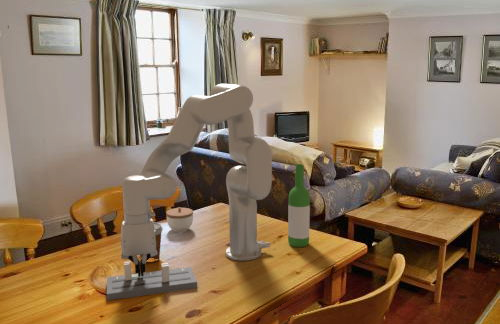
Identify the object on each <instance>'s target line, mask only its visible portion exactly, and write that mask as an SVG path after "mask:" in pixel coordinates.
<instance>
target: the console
mask: <svg viewBox="0 0 500 324" xmlns="http://www.w3.org/2000/svg"><path fill="white" fill-rule="evenodd" d="M143 274H144V276H140V277H138V273H132V280H126V281H125V274H124V275H116V276H107V277H106V300H107V301H112V300H113V301H114V300H120V299H127V298H134V297H141V296H148V295H149V296H151V295H156V294H162V293H170V292H178V291H184V290H192V289H198V281H197V278H196V276H195V272H194V270H193V268H192V266H187V267H179V268H171V269H170V268H169V282H163V281H162V271H161V270H156V271H155V270H153V271H147V272H143Z"/></svg>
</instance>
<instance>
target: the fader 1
mask: <svg viewBox="0 0 500 324" xmlns="http://www.w3.org/2000/svg"><path fill="white" fill-rule="evenodd" d="M123 266H124V267H123V270H124V271H123V272H124V275H125V281H126V280H132V274H133V273H132V272H133V271H132V261H130V260H127V261H123Z"/></svg>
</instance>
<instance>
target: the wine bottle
mask: <svg viewBox="0 0 500 324" xmlns="http://www.w3.org/2000/svg"><path fill="white" fill-rule="evenodd" d="M304 167H305V165H304V164H295V174H294V175H295V177H294V179H295V180H294V182H295V183H294V187H293V188H292V189H290V191H289V194H288V210H287V211H288V222H287V240H288V244H289V245H290V246H292V247H295V248H303V247H306V246H308V245H309V242H310V221H311V219H310V217H311V216H310V215H311V205H310V203H311V196H310V192H309V191H308V189H307V188H306V187H305V186H304V185H305V183H304V180H305V179H304V177H305V175H304V174H305V170H304V169H305V168H304Z"/></svg>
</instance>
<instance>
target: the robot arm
mask: <svg viewBox="0 0 500 324" xmlns="http://www.w3.org/2000/svg"><path fill="white" fill-rule="evenodd" d="M209 94H210V95H199V94H196V95H194V94H193V95H191V96H189V97H188V98H186V100H185V101H184V103H183V105H182V107H181V109H180V111H179V113H178V114H177V117H176V119H175V121H174V123H173V125H172V127H171V128H170V131H169V133H168V134H167V136H166V138H164V140H162V141H161V142H160V143H159V145H158V146H157V147H156V148H155V149H154V150H152V152H151V154H149V156H148V158H147V160H146V161H145V163H144V166H143V168H142V169H141V173H140V175H138V174H137V175H129V176H126V177H124V178H123V179H122V181H121V187H122V201H123V202H122V203H123V204H122V205H123V217H124V220H123V221H122V223H121V225H120V227H121V228H120V244H121V245H120V246H121V254H120V256H121V257H120V258H121V259H122V260H128V261H131V263H133V264H134V267H135V268H134V270H135V274H138V277H140V276H144V274H143V273H146V271H147V270H146V264H147V263H146V261H147V260H148V259H149V258H150V257H152V256H155V255H157V254H158V253H157V249H156V236H155V228H154V223H153V222H154V220H153V217H156V213H155V211H151V206H150V203H151V202H150V200H167V199H169V198H171V197H173V196H174V195H175V193H176V192H177V189H178V185H177V182H176V180H175V179H174V177H172V175H169V174H167V173H166V171H167V170H168V168H169V166H171V163H172V162H173V161H174V160H176V159H177V158H179V157H180V156H182V155H184V154H187V153H188V152H190V151H192V150H193V149H194V147H195V144H196V143H197V141H198V139H199V137H200V134H201V133H202V130H203V128H204V127H205V125H206V126H213V125H217V124H220V123H223V122H225V121H227V127H228V152H229V157H230V158H231V160H233V161H234V162H237V163H239V164H242V165H236V166H233V167H231V168H230V169H229V170H228V172H227V173H226V178H225V185H226V190H227V194H228V207H229V208H228V210H229V211H228V215H229V216H228V218H229V223H228V224H229V246H228V247H227V248H226V249H225V256H226V257H227V258H228V259H231V260H232V261H240V262H244V261H246V262H247V261H252V260H255V259H258V258H260V256H261V255H262V249H263V248H264V249H265V248H267V249H268V248H271V242H270V241H268V242H267V241H266V242H265V240H259V241H258V226H257V224H258V222H257V221H258V219H257V218H258V217H257V216H258V213H257V212H258V210H257V209H258V205H257V201H261V200H264V199H265V198H266V197H268V196H269V194H270V192H271V190H272V185H273V184H272V183H273V168H272V167H273V163H272V162H273V161H272V160H273V158H272V150H271V147H270V145H269V143H268V142H267V141H266V140H264V139H263V138H260V137H256V136H255V128H254V127H255V126H254V117H253V114H252V111H251V109H250V108H251V107H252V105H253V102H254V95H253V92H252V90H251V89H250V88H249V87H247V86H245V85H242V84H231V83H219V84H216V85H214V86H213V87H212V88H211V90H210V93H209ZM140 255H142V259H141V258H140V259H139V258H138V256H140Z"/></svg>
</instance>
